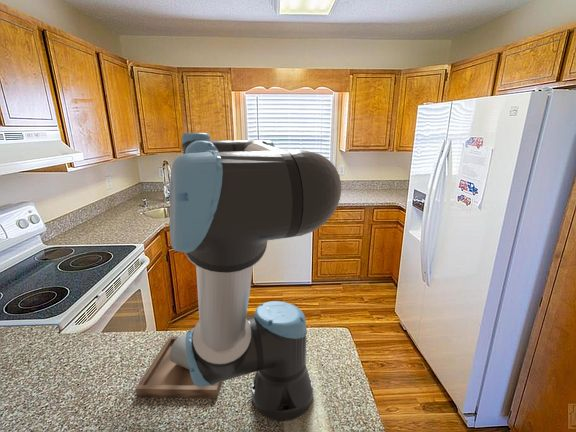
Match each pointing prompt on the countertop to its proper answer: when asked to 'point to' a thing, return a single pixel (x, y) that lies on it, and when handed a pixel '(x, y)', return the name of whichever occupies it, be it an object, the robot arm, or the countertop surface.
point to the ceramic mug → (179, 352)
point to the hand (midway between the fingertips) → (206, 259)
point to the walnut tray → (172, 379)
